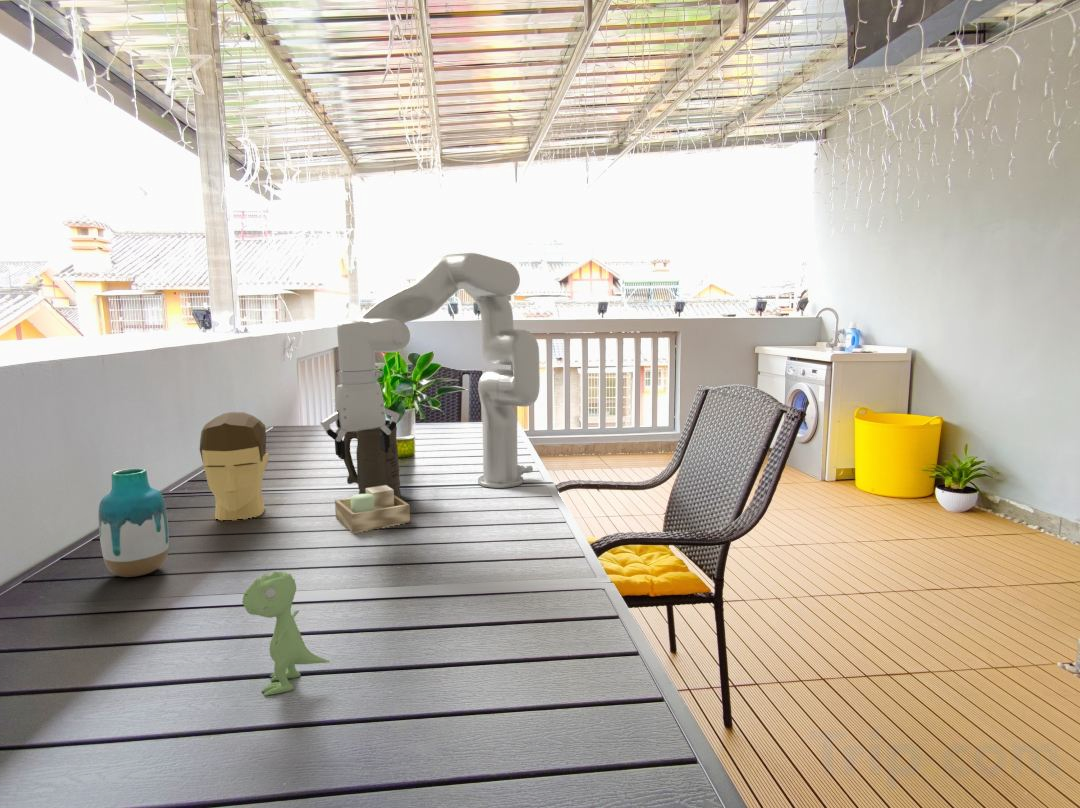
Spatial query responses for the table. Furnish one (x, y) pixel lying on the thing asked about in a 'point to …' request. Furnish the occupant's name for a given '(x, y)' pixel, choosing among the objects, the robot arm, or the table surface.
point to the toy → (280, 627)
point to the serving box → (372, 515)
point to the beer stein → (373, 460)
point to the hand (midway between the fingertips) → (363, 454)
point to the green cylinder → (362, 503)
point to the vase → (133, 525)
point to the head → (235, 464)
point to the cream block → (382, 496)
